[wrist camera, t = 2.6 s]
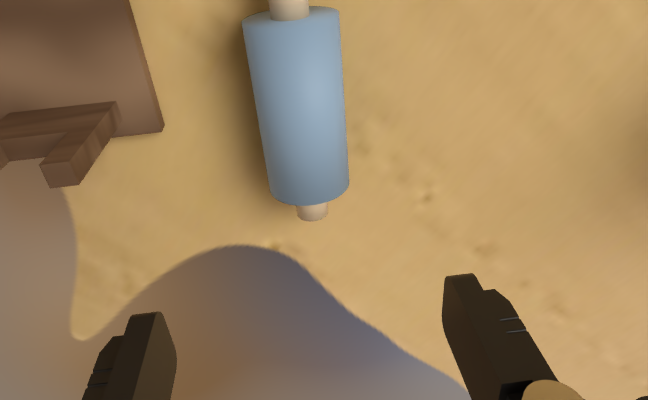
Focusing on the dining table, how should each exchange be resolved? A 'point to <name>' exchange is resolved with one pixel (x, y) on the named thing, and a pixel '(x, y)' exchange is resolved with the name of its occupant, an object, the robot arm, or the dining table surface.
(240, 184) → the dining table surface
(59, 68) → the roll holder
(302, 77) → the towel roll
